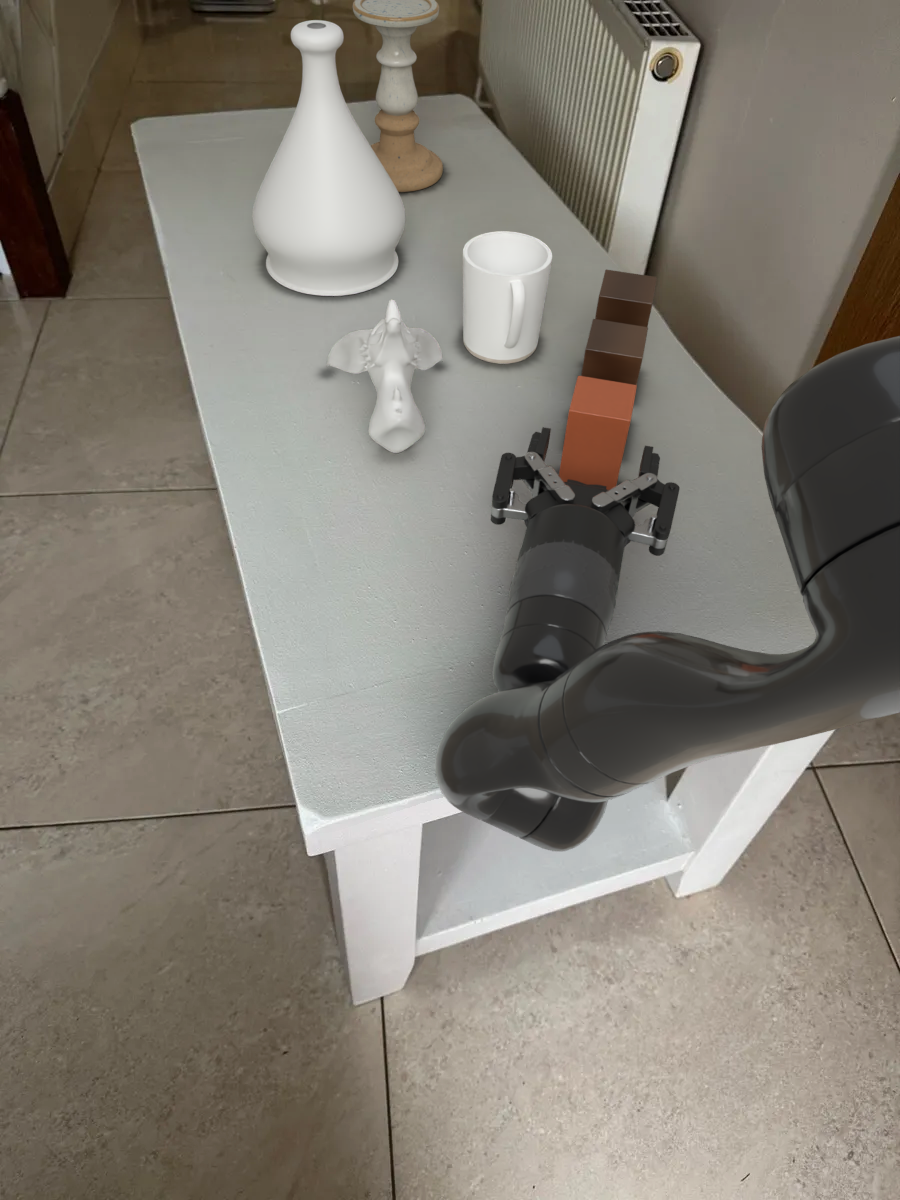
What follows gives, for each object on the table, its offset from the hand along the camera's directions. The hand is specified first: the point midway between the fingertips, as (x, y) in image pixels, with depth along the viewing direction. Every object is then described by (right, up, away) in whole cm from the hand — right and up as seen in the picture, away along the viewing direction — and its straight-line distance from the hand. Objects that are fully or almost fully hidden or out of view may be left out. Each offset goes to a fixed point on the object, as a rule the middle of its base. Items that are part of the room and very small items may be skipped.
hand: (595, 444), depth 78 cm
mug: (-7, +14, +22) cm, 27 cm away
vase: (-26, +27, +33) cm, 50 cm away
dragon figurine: (-18, +5, +13) cm, 23 cm away
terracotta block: (0, -4, +7) cm, 8 cm away
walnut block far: (+4, +10, +18) cm, 21 cm away
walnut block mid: (+2, +3, +13) cm, 13 cm away
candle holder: (-19, +45, +49) cm, 69 cm away
